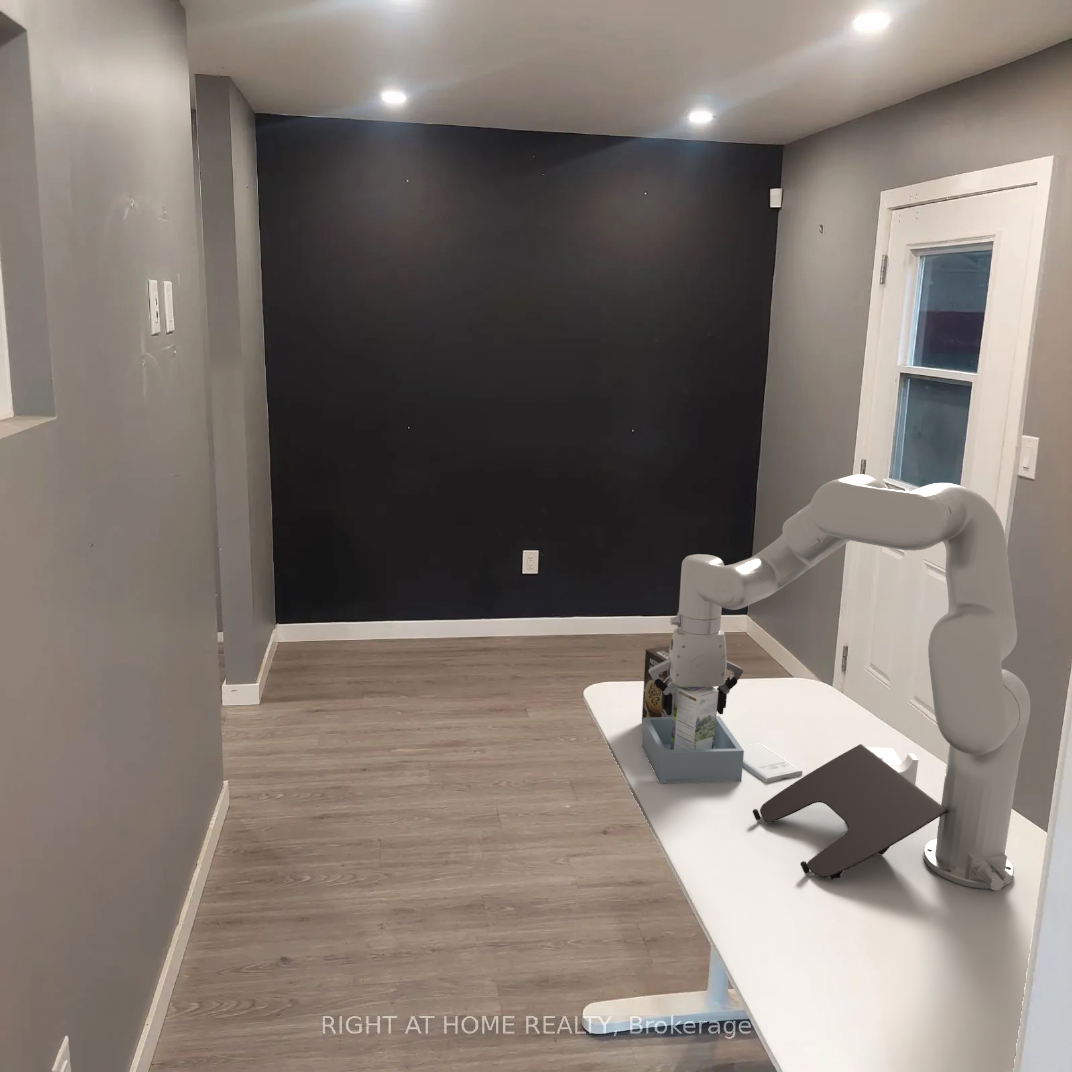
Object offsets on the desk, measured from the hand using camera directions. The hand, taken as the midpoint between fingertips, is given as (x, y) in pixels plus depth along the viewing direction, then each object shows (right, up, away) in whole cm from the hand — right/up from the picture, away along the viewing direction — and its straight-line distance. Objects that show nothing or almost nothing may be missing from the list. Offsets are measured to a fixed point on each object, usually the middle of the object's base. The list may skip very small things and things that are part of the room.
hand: (693, 711), depth 174 cm
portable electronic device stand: (+19, -17, -23) cm, 34 cm away
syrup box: (0, -9, +2) cm, 10 cm away
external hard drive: (+14, -11, +3) cm, 18 cm away
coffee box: (-3, -7, +17) cm, 18 cm away
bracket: (+34, -12, -2) cm, 36 cm away
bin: (0, -10, +2) cm, 10 cm away
